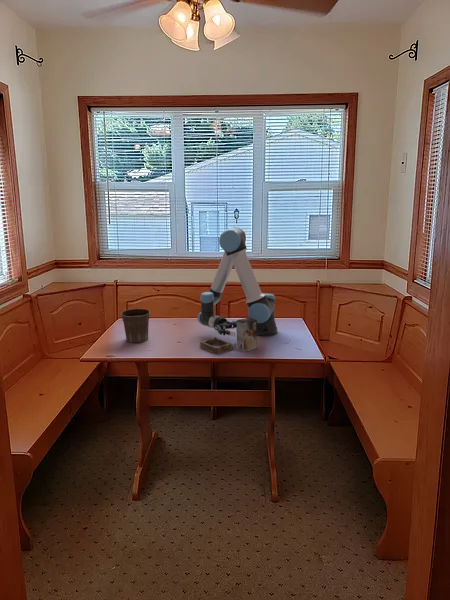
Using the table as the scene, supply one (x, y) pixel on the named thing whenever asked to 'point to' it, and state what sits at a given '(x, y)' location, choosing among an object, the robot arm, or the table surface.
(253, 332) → the coffee box
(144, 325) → the plant pot
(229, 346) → the brown open rectangular frame
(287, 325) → the table surface
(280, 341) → the table surface
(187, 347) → the table surface
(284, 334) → the table surface
